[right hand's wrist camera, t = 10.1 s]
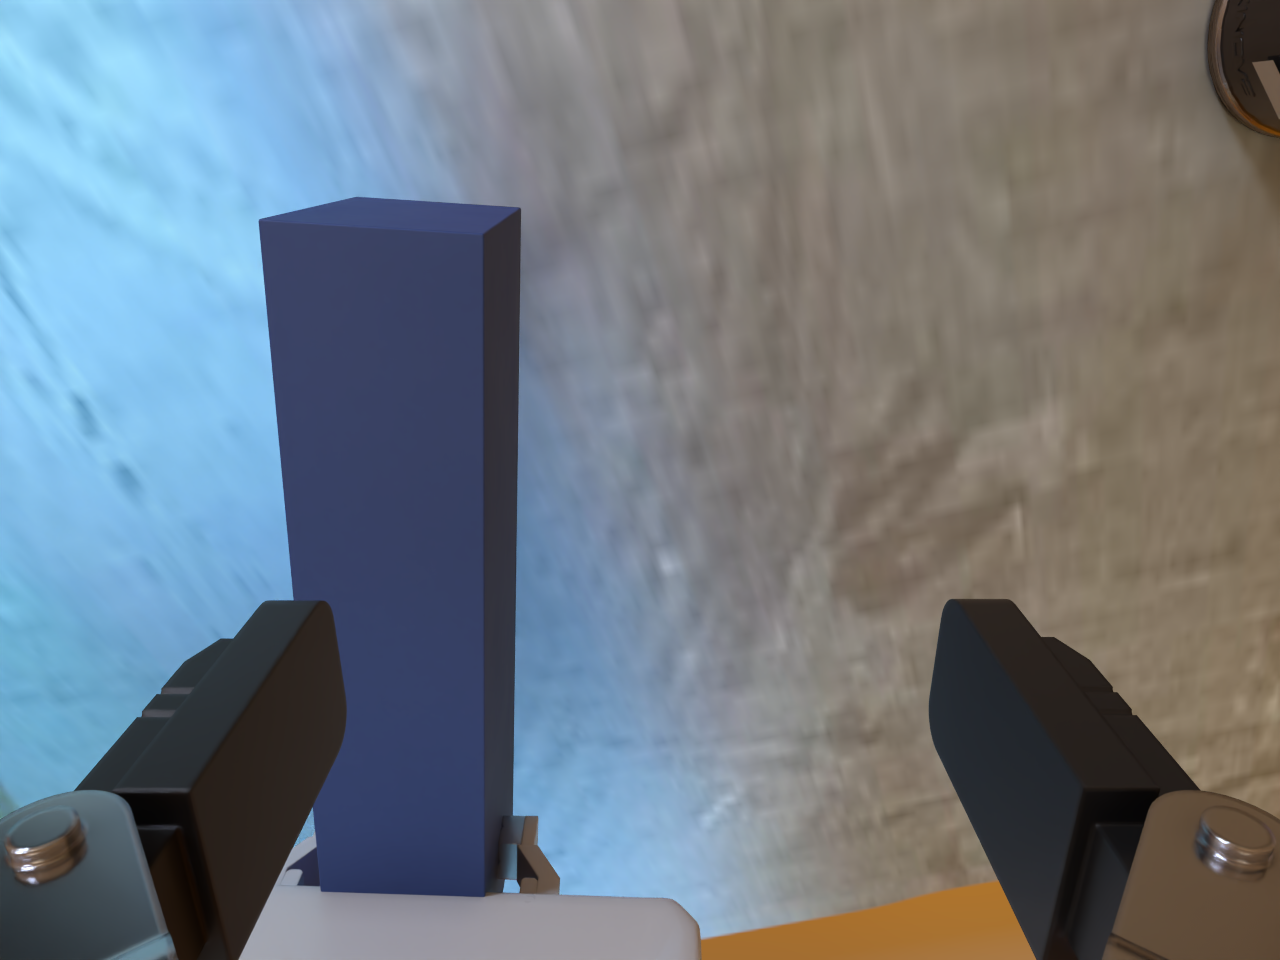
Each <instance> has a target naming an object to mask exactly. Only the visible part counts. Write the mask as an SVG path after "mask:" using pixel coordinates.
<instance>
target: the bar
mask: <svg viewBox="0 0 1280 960" xmlns="http://www.w3.org/2000/svg"><path fill="white" fill-rule="evenodd" d="M259 230H260V241H261V252H262V262H263V273H264V284H265V295H266V306H267V316H268V327H269V338H270V349H271V360H272V370H273V381H274V392H275V403H276V414H277V424H278V435H279V446H280V457H281V468H282V478H283V489H284V500H285V511H286V522H287V532H288V543H289V554H290V565H291V576H292V586H293V597H294V601H326V602H327V603H328V604H329V605H330V607H331V609H332V612H333V616H334V622H335V628H336V635H337V642H338V648H339V655H340V662H341V668H342V675H343V682H344V688H345V695H346V703H347V719H346V729H345V734H344V739H343V743H342V746H341V749H340V751H339V753H338V755H337V757H336V759H335V762H334V764H333V766H332V768H331V770H330V772H329V774H328V776H327V778H326V780H325V782H324V784H323V786H322V788H321V790H320V793H319V795H318V797H317V799H316V801H315V803H314V805H313V813H314V824H315V835H316V845H317V856H318V867H319V878H320V889H321V892H344V893H374V894H404V895H434V896H464V897H485V895H486V892H497V893H503V888H504V881H505V879H498V861H499V859H498V841H499V835H500V830H501V828H502V819H503V816H504V815H510V816H513V757H514V684H515V610H516V536H517V462H518V389H519V315H520V241H521V208H518V207H503V206H487V205H472V204H457V203H442V202H426V201H411V200H396V199H381V198H365V197H354V198H350V199H345V200H341V201H337V202H332V203H328V204H324V205H319V206H315V207H311V208H306V209H302V210H298V211H293V212H289V213H285V214H280V215H276V216H272V217H267V218H263V219H259Z"/></svg>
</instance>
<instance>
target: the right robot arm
mask: <svg viewBox="0 0 1280 960" xmlns="http://www.w3.org/2000/svg"><path fill="white" fill-rule="evenodd" d="M1208 62H1209V68H1210V73H1211V77H1212V80H1213V83H1214V86H1215V88H1216V91H1217V93H1218V95H1219V97H1220V99H1221V100H1222V102H1223V103H1224V105H1225V106H1226V108H1227V109H1228V110H1229V111H1230V112H1231V113H1232V115H1233V116H1234V117H1235V118H1237V119H1238V120H1239V121H1240V122H1241V123H1243V124H1244V125H1246V126H1247V127H1249V128H1251V129H1253V130H1255V131H1257V132H1259V133H1262V134H1265V135H1268V136H1273V137H1277V138H1280V0H1216V1H1215V4H1214V7H1213V11H1212V15H1211V20H1210V25H1209V33H1208ZM161 690H162V691H161V694H157V695H156V696H155V697H154V698H153V699H152V700H151V702H150V703H149V704H148V705H147V706H146V707H145V709H144V710H143V711H142V717H137V718H136V719H135V720H134V721H133V723H132V724H131V725H130V726H129V727H128V728H127V730H126V731H125V732H124V733H123V734H122V735H121V737H120V738H119V739H118V740H117V741H116V742H115V744H114V745H113V746H112V747H111V748H110V749H109V751H108V752H107V753H106V754H105V755H104V756H103V758H102V759H101V760H100V761H99V762H98V763H97V765H96V766H95V767H94V768H93V769H92V770H91V772H90V773H89V774H88V775H87V776H86V777H85V779H84V780H83V781H82V782H81V783H80V784H79V786H78V787H77V788H76V789H75V790H74V791H73V792H67V793H62V794H58V795H54V796H51V797H48V798H44V799H41V800H38V801H36V802H34V803H31V804H29V805H26V806H24V807H22V808H20V809H18V810H16V811H14V812H12V813H10V814H9V815H7V816H5V817H4V818H2V819H0V960H239V958H240V956H241V954H242V952H243V950H244V947H245V945H246V943H247V941H248V939H249V937H250V935H251V933H252V931H253V929H254V927H255V925H256V923H257V921H258V919H259V916H260V914H261V912H262V910H263V908H264V906H265V904H266V902H267V900H268V898H269V896H270V894H271V892H272V890H273V888H274V885H275V883H276V881H277V879H278V877H279V875H280V873H281V871H282V869H283V867H284V865H285V863H286V861H287V859H288V857H289V854H290V852H291V850H292V848H293V846H294V844H295V842H296V840H297V838H298V836H299V834H300V832H301V830H302V828H303V826H304V824H305V821H306V819H307V817H308V815H309V813H310V811H311V809H312V807H313V805H314V803H315V801H316V799H317V797H318V795H319V793H320V790H321V788H322V786H323V784H324V782H325V780H326V778H327V776H328V774H329V772H330V770H331V768H332V766H333V764H334V762H335V759H336V757H337V755H338V753H339V751H340V749H341V746H342V743H343V739H344V734H345V729H346V719H347V703H346V695H345V688H344V682H343V675H342V668H341V662H340V655H339V648H338V642H337V635H336V628H335V622H334V616H333V612H332V609H331V607H330V605H329V604H328V603H327V602H326V601H265V602H263V603H262V604H261V605H260V606H259V607H258V609H257V610H256V611H255V612H254V614H253V615H252V616H251V617H250V619H249V620H248V621H247V622H246V624H245V625H244V626H243V627H242V629H241V630H240V631H239V632H238V634H237V635H236V636H235V637H234V639H219V640H218V641H216V642H215V643H213V644H212V645H210V646H209V647H207V648H205V649H204V650H202V651H201V652H199V653H198V654H196V655H194V656H193V657H191V658H190V659H188V660H187V661H185V662H184V663H183V664H182V665H181V667H180V668H179V669H178V670H177V671H176V672H175V674H174V675H173V676H172V677H171V678H170V679H169V681H168V682H167V683H166V684H165V685H164V686H163V688H162V689H161ZM929 722H930V729H931V735H932V739H933V742H934V745H935V748H936V750H937V753H938V755H939V757H940V759H941V761H942V763H943V765H944V767H945V769H946V771H947V773H948V776H949V778H950V780H951V782H952V784H953V786H954V788H955V790H956V792H957V794H958V796H959V799H960V801H961V803H962V805H963V807H964V809H965V811H966V813H967V815H968V817H969V819H970V822H971V824H972V826H973V828H974V830H975V832H976V834H977V836H978V838H979V840H980V842H981V845H982V847H983V849H984V851H985V853H986V855H987V857H988V859H989V861H990V863H991V865H992V868H993V870H994V872H995V874H996V876H997V878H998V880H999V882H1000V884H1001V886H1002V888H1003V891H1004V893H1005V895H1006V897H1007V899H1008V901H1009V903H1010V905H1011V907H1012V909H1013V911H1014V914H1015V916H1016V918H1017V920H1018V922H1019V924H1020V926H1021V928H1022V930H1023V932H1024V934H1025V937H1026V939H1027V941H1028V943H1029V945H1030V947H1031V949H1032V951H1033V953H1034V955H1035V957H1036V960H1280V819H1278V818H1276V817H1275V816H1273V815H1271V814H1270V813H1268V812H1266V811H1264V810H1262V809H1260V808H1258V807H1256V806H1254V805H1251V804H1249V803H1246V802H1244V801H1242V800H1239V799H1236V798H1232V797H1229V796H1226V795H1222V794H1218V793H1213V792H1207V791H1201V790H1200V789H1199V788H1198V787H1197V786H1196V784H1195V783H1194V782H1193V781H1192V780H1191V779H1190V777H1189V776H1188V775H1187V774H1186V773H1185V772H1184V770H1183V769H1182V768H1181V767H1180V766H1179V764H1178V763H1177V762H1176V761H1175V760H1174V759H1173V757H1172V756H1171V755H1170V754H1169V753H1168V751H1167V750H1166V749H1165V748H1164V747H1163V746H1162V744H1161V743H1160V742H1159V741H1158V740H1157V739H1156V737H1155V736H1154V735H1153V734H1152V733H1151V731H1150V730H1149V729H1148V728H1147V727H1146V726H1145V724H1144V723H1143V722H1142V721H1141V720H1140V719H1139V717H1138V716H1137V715H1132V709H1131V708H1130V707H1129V706H1128V704H1127V703H1126V702H1125V701H1124V700H1123V699H1122V697H1121V696H1120V695H1119V694H1118V693H1117V692H1113V687H1112V686H1111V684H1110V683H1109V682H1108V681H1107V680H1106V679H1105V677H1104V676H1103V675H1102V674H1101V673H1100V671H1099V670H1098V669H1097V668H1096V667H1095V666H1094V664H1093V663H1092V662H1091V661H1090V660H1089V659H1087V658H1086V657H1084V656H1083V655H1081V654H1080V653H1078V652H1076V651H1075V650H1073V649H1072V648H1070V647H1069V646H1067V645H1066V644H1064V643H1062V642H1061V641H1059V640H1058V639H1056V638H1055V637H1041V636H1040V635H1039V634H1038V633H1037V631H1036V630H1035V629H1034V628H1033V626H1032V625H1031V624H1030V622H1029V621H1028V620H1027V619H1026V617H1025V616H1024V615H1023V614H1022V612H1021V611H1020V610H1019V609H1018V607H1017V606H1016V605H1015V604H1014V603H1013V602H1012V601H1011V600H1009V599H950V600H949V601H947V603H946V604H945V606H944V609H943V612H942V617H941V623H940V630H939V637H938V643H937V650H936V657H935V664H934V670H933V677H932V684H931V691H930V698H929Z"/></svg>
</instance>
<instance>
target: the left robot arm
mask: <svg viewBox="0 0 1280 960" xmlns="http://www.w3.org/2000/svg"><path fill="white" fill-rule="evenodd" d="M537 843H538V816H510V815H504V816H503V819H502V828H501V830H500V835H499V841H498V859H499V861H498V879H509V880H517V882H518V884H519V886H520V893H497V892H486V895H485V897H464V896H434V895H404V894H374V893H344V892H321V889H320V878H319V867H318V856H317V845H316V835H315V832H314V834H313V836H312V837H308V838H307V839H305V840H304V841H302V842H301V843H299V844H298V845H297V846H295V847H294V848H292V850H291V852H290V854H289V857H288V859H287V861H286V863H285V865H284V867H283V869H282V871H281V873H280V875H279V877H278V879H277V881H276V883H275V885H274V888H273V890H272V892H271V894H270V896H269V898H268V900H267V902H266V904H265V906H264V908H263V910H262V912H261V914H260V916H259V919H258V921H257V923H256V925H255V927H254V929H253V931H252V933H251V935H250V937H249V939H248V941H247V943H246V945H245V947H244V950H243V952H242V954H241V956H240V958H239V960H701V938H700V929H699V925H698V923H697V922H696V921H695V919H694V918H693V917H692V916H691V915H690V914H689V913H688V912H687V911H686V910H685V909H684V908H683V907H682V906H681V905H680V904H678V903H677V902H676V901H674V900H672V899H667V898H639V897H611V896H582V895H559V890H560V878H559V876H558V875H557V873H556V872H555V870H554V869H553V867H552V866H551V864H550V863H549V861H548V860H547V858H546V857H545V856H544V854H543V853H542V851H541V850H540V848H539V847H538V845H537Z"/></svg>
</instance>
